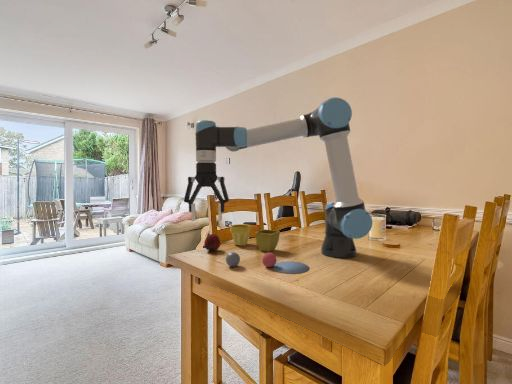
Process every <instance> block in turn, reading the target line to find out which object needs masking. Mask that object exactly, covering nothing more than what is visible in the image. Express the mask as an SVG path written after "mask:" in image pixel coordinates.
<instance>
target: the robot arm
mask: <svg viewBox="0 0 512 384" xmlns="http://www.w3.org/2000/svg"><path fill="white" fill-rule="evenodd" d="M352 115H353V110H352V108H351V104H349V102H347V101H346V100H345V99H343V98H341V97H330V98H327V100H324V101H322V102H321V104H320V105H319V106H318V107H317V108H316V109H314V110H313V111H311V112H309V113H307V114H302V115H300V117H299V118H295V119H290V120H287V121H286V120H285V121H282V122H277V123H272V124H267V125H262V126H258V127H253V128H248V129H247V127H245V126H243V127H242V126H227V127H226V126H217V125H216V122H215V121H213V120H205V119H204V120H198V121H196V123H195V124H196V125H195V162H197V163H196V164H195V175H194V176H188V177H187V187H186V190H185V195H184V198H183V202H184V203H187V204H188V212H189V213H191V217H190V218H191V222H195V221H196V219H197V218H196V203H195V200H196V198H197V196H198V195H199V192H200V191H201V189H202V188H206V187H207V188H211V189H212V191H213V192H214V194H215V196H216V197H217V200H218V201H219V203H218V204H217V205H218V209H217V210H218V222H222V220H223V213H224V212H225V204H226V203H228V202H230V198H229V194H228V191H227V188H226V185H225V178H226V177H225V176H218V175H217V164H216V162H217V148H226V149H227V150H228V151H230V152H238V151H240V150H243V149H247V148H252V147H256V146H257V147H258V146H261V145H262V146H263V145H266V144H271V143H275V142H276V143H277V142H280V141H283V140H284V141H285V140H289V139H295V138H299V137H303V138H309V137H318V136H319V139H320V140H321V141H323V142H324V145H325V152H326V156H327V161H328V165H329V172H330V177H331V181H332V182H331V183H332V187H333V191H334V192H333V193H334V197H335V202H327V203H326V205H325V208H324V212H325V217H324V218H325V219H324V220H325V222H324V223H325V225H324V226H325V228H324V232H325V233H324V239H323V242H322V244H321V248H320V249H321V251H320V252H321V254H322V255H324V256H327V257H332V258H341V259H347V258H348V259H350V258H353V257H354V258H355V257H356V256H357V247H356V244H355V242H354V239H357V240H358V239H362V238H365V237H366V236H368V235H369V233H370V231H371V230H372V227H373V218H372V216H371V214H370V213H369V212H368V211H367V210H366V207H365V201H364V200H363V199H361V198H360V197H359V192H358V188H357V183H356V182H357V181H356V177H355V172H354V166H353V161H352V156H351V149H350V146H349V145H350V143H349V139H348V136H349V134H350V133H351V128H350V122H351V119H352ZM195 180H196V183H197V184H196V187H195V188H194V191H193V193H192V190H193V185H194V183H195ZM217 181H218V183H219V185H220V189H221V192H222V194H221V192H220V191H219V189H218V187H217V185H216V182H217ZM191 193H192V194H191ZM222 195H223V196H222Z"/></svg>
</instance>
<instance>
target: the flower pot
mask: <svg viewBox="0 0 512 384" xmlns="http://www.w3.org/2000/svg"><path fill="white" fill-rule="evenodd" d="M254 233H255V240H256V241H255V242H256V246H257V247H258V249H259V250H260V251H262V252H266V253H271V252H272V251H275V250H276V249H277V246H278V243H279V239H280V231H279V230H272V229H262V230H261V229H260V230H258V231H255V232H254Z"/></svg>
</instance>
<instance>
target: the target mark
mask: <svg viewBox="0 0 512 384" xmlns="http://www.w3.org/2000/svg"><path fill="white" fill-rule="evenodd" d="M271 268H272V270H274V271H275V272H278V273H280V274H281V273H282V274H289V275H291V274H293V275H294V274H295V275H296V274H297V275H298V274H303V273H306V272H308V271H309V269H310V267H309V265H308V264H305V263H304V262H300V261H294V260H286V261H284V260H281V261H278V262H277V261H276V264H275V265H274V266H273V267H271Z"/></svg>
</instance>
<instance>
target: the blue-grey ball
mask: <svg viewBox="0 0 512 384" xmlns="http://www.w3.org/2000/svg"><path fill="white" fill-rule="evenodd" d="M240 262H241V257H240V255H239V253H237V252H235V251H232V252H229V253H227V255H226V256H225V263H226V264H227V266H229V267H232V268H234V267H237V266H238V265H239V264H240Z"/></svg>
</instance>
